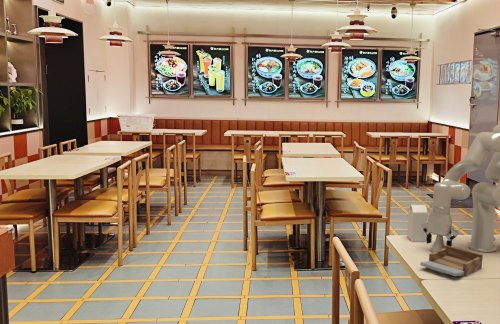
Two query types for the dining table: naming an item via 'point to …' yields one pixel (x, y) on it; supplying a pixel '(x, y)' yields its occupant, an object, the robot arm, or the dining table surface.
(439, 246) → the flask
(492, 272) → the dining table surface
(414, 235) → the milk carton
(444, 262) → the wooden tray
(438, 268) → the grey flat panel
